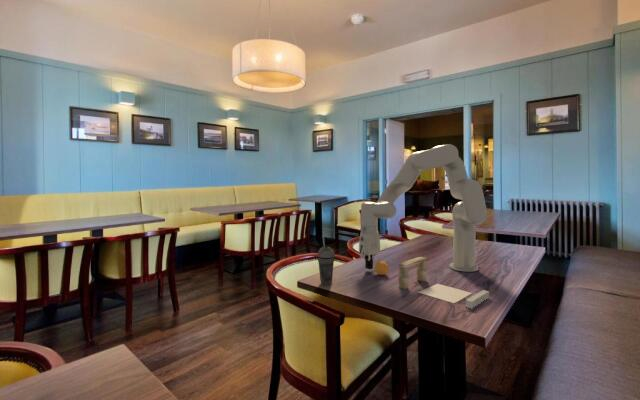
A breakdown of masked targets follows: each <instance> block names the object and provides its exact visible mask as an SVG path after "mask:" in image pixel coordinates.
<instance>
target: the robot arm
mask: <svg viewBox="0 0 640 400" xmlns="http://www.w3.org/2000/svg"><path fill="white" fill-rule="evenodd" d="M459 155H460V154H459V150H458V148H457V147H456V146H455V145H454V144H451V143H449V144H448V143H447V144H442V145H441V144H440V145H436V146H434V147H432V148H430V149H426V150H420V151H415V152H411V153H410V154H409V156H408V157H407V159H406V160H405V162H404V163H403V165H402V166H401V167H400V169H399V171H398V172H397V175H396V176H395V177H394V178H393V180H392V181H391V182H390V183H388V186H386V188H384V190H383V192H382V193H381V194H380V196H379V198H378V200H377V201H376V202H374V201H365V202H362V203H361V205H360V217H361V218H360V235H359V239H358V241H359V242H358V252H359V254H360V255H359V257H360V258H363V259H364V260H365V261H364V262H365V269H368V270H372V269H374V259H375V256H376V255H378V254H379V253H380V252H381V239H380V232H379V231H378V230H379V229H378V228H379V227H378V223H379V219H386V220H387V219H389V220H390V219H392V218H394V217H395V216H396V215H397V207H396V206H395V202H396V201H397V199H398V198H400V196H402V195H403V194H405V193H406V192H408V191H409V190H410V189H412V187H413V186H414V184H415V182H416V181H417V179H418V178H419V176H420V175H421V173H423V172H422V171H428V170H434V169H437V168H441V167H442V169H443V170H444V172H445V175H446V179H447V182H448V186H449V191H450V194H451V196H452V197H453V198H454V199H456V200H461V201H458V202H457V203H455V204H454V206H453V208H452V212H451V213H452V214H451V216H452V222H453V236H452V237H453V239H452V240H453V241H452V243H453V245H452V262H450V263H449V264H448V267H449V268H450V269H451V270H454V271H458V272H466V273H471V272H477V271H478V270H479V266H478V265H476V261H478V258H477V257H476V243H477V242H476V236H477V229H476V226H477V225H481V224H483V223H484V222H485V221H486V219H487V216H488V209H487V205H486V199H485V195H484V191H483V187H482V186H481V184H480V183H479V182H478V181H476V180H475V179H472V178H471V179H470V178H469V176H468V173H467V170H466V166H465V163H464V162H463V160H462V158H461V157H460V156H459Z"/></svg>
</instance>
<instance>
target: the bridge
mask: <svg viewBox="0 0 640 400" xmlns="http://www.w3.org/2000/svg"><path fill="white" fill-rule="evenodd" d="M415 265H416V266H417V267H416V270H417V271H416V279H417V281H420V282H426V281H427V257H424V256H417V257H415V258H412V259H408V260H405V261H402V262H399V264H398V288H400V289H404V290H407V289H408V288H409V267H412V266H415Z"/></svg>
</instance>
